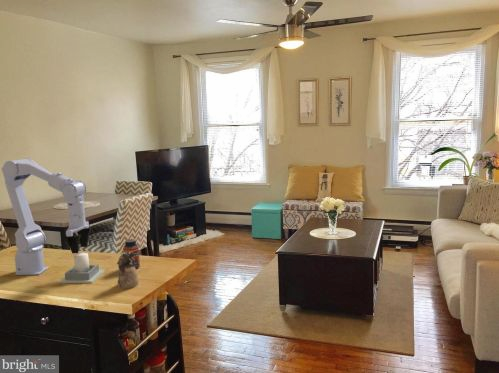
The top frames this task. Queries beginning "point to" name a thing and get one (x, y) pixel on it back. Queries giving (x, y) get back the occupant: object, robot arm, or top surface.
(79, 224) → the robot arm
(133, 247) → the supplement bottle
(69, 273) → the cup holder
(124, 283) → the figurine
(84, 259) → the cream white egg
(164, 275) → the top surface
